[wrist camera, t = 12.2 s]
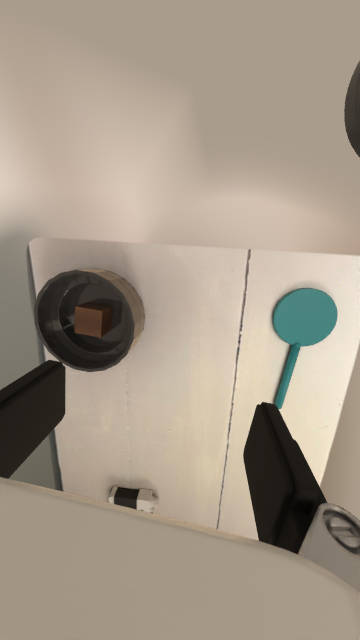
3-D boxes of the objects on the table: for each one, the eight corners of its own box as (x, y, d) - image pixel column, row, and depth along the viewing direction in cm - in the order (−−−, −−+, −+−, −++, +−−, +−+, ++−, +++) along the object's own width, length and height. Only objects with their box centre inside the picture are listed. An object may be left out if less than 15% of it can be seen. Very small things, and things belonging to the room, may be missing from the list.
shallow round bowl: (60, 263, 36) (32, 263, 30) (149, 276, 35) (138, 279, 29) (60, 347, 40) (35, 362, 34) (140, 362, 39) (129, 379, 33)
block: (89, 301, 36) (75, 306, 32) (113, 305, 36) (102, 311, 32) (88, 325, 38) (74, 332, 33) (112, 329, 37) (100, 337, 33)
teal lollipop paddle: (280, 283, 33) (283, 284, 32) (342, 293, 32) (348, 294, 31) (250, 401, 38) (251, 405, 37) (302, 411, 38) (305, 415, 37)
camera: (97, 521, 40) (151, 530, 39) (112, 484, 47) (159, 491, 46) (101, 577, 44) (150, 586, 43) (114, 535, 51) (157, 542, 50)
